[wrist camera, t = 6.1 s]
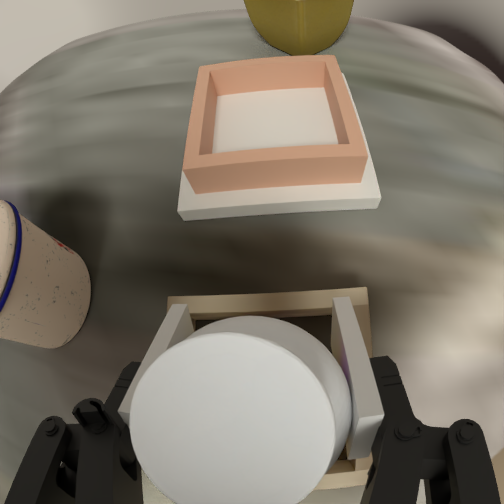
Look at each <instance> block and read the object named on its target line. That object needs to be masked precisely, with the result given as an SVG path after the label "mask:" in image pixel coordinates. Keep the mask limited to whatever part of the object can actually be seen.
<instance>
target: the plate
mask: <svg viewBox="0 0 504 504" xmlns="http://www.w3.org/2000/svg"><path fill="white" fill-rule="evenodd" d="M380 200H381V194H380V190H379V186H378V182H377V178H376V174H375V170H374V167H373V163H372V159H371V156H370V152H369V148H368V145H367V142H366V138H365V135H364V132H363V128H362V125H361V122H360V119H359V116H358V113H357V110H356V107H355V104H354V101H353V98H352V95H351V93H350V90H349V87H348V84H347V82H346V79H345V76H344V74H343V73H341V71H340V68H339V65H338V63H337V60H336V58H335V55H304V56H284V57H270V58H259V59H249V60H240V61H233V62H225V63H219V64H212V65H206V66H201V67H199V72H198V77H197V82H196V87H195V92H194V98H193V104H192V109H191V115H190V121H189V127H188V134H187V140H186V147H185V154H184V161H183V168H182V176H181V184H180V192H179V201H178V210H177V212H178V213H179V215H180V216H181V217H182V219H183V220H184V221H191V220H202V219H214V218H226V217H239V216H252V215H266V214H281V213H297V212H314V211H333V210H354V209H377V207H378V204H379V202H380Z"/></svg>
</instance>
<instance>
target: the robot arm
mask: <svg viewBox="0 0 504 504" xmlns="http://www.w3.org/2000/svg"><path fill="white" fill-rule="evenodd" d="M192 333H194V329H193V325H192V321H191V317H190V313H189V309H188V305H187V304H172V306H171V307H170V309H169V311H168V313H167V315H166V317H165V319H164V321H163V322H162V324H161V326H160V328H159V330H158V332H157V334H156V336H155V338H154V340H153V342H152V343H151V345H150V347H149V349H148V351H147V353H146V355H145V357H144V359H143V361H142V362H131V363H130V364H129V365H128V366H127V367H125V368H124V369H123V371H122V373H121V375H120V376H119V380H117V382H116V384H115V387H114V388H113V389H112V391H111V393H110V395H109V397H108V399H107V401H106V403H105V404H103V402H102V401H100V400H98V399H96V398H89V399H85V400H83V401H81V402H79V403H78V404H77V405H76V406H75V407H74V409H73V412H72V413H73V415H74V416H75V418H76V419H77V420H78V422H79V423H80V424H66V423H65V422H64V421H63V419H62V418H60V417H58V416H51V417H48V418H46V419H45V420H43V421H42V422H41V424H40V425H39V427H38V429H37V431H36V433H35V435H34V437H33V439H32V441H31V443H30V445H29V447H28V449H27V452H26V454H25V456H24V458H23V460H22V463H21V465H20V467H19V469H18V472H17V474H16V476H15V479H14V481H13V483H12V486H11V488H10V491H9V493H8V496H7V498H6V501H5V503H4V504H143V491H142V476H141V465H140V463H139V461H138V459H137V457H136V454H135V452H134V449H133V445H132V441H131V435H130V409H131V403H132V399H133V396H134V392H135V389H136V387H137V385H138V383H139V381H140V379H141V377H142V376H143V374H144V373H145V371H146V370H147V369H148V367H149V366H150V365H151V364H152V363H153V362H154V361H155V359H156V358H157V357H159V356H160V355H161V354H162V353H163V352H164V351H166V350H167V349H169V348H170V347H172V346H174V345H175V344H177V343H179V342H181V341H183V340H185V339H186V338H187V337H188V336H190V335H191V334H192ZM331 350H332V355H333V356H334V358H335V359H336V361H337V362H338V364H339V365H340V367H341V369H342V371H343V373H344V375H345V377H346V380H347V383H348V386H349V390H350V394H351V402H352V420H351V426H350V431H349V435H348V438H347V441H346V450H347V459H348V460H351V459H358V458H365V457H369V455H370V452H372V458H373V462H372V464H371V467H370V469H369V471H368V473H367V475H368V479H367V482H366V486H365V489H364V493H363V496H362V500H361V503H360V504H416V501H417V496H418V490H419V484H420V479H424V486H425V495H426V504H501V502H500V497H499V492H498V487H497V483H496V478H495V474H494V470H493V466H492V462H491V458H490V455H489V451H488V448H487V444H486V441H485V438H484V434H483V431H482V429H481V427H480V426H479V424H477V423H476V422H475V421H472V420H469V419H461V420H458V421H456V422H454V423H453V424H452V425H451V426H450V428H441V427H430V426H426V425H424V424H422V422H421V421H420V420H418V419H417V418H415V416H414V414H413V412H412V409H411V406H410V403H409V400H408V397H407V394H406V391H405V388H404V385H403V384H402V380H401V377H400V376H399V371H398V369H397V366H396V364H395V363H394V362H393V361H392V360H391V359H390V358H389V357H388V356H382V357H373V358H369V357H368V354H367V350H366V347H365V344H364V340H363V337H362V334H361V331H360V328H359V325H358V321H357V318H356V315H355V312H354V309H353V306H352V303H351V300H350V297H349V296H348V297H335V298H333V303H332V327H331ZM61 461H62V462H63V463H62V464H61ZM60 464H61V466H60Z"/></svg>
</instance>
